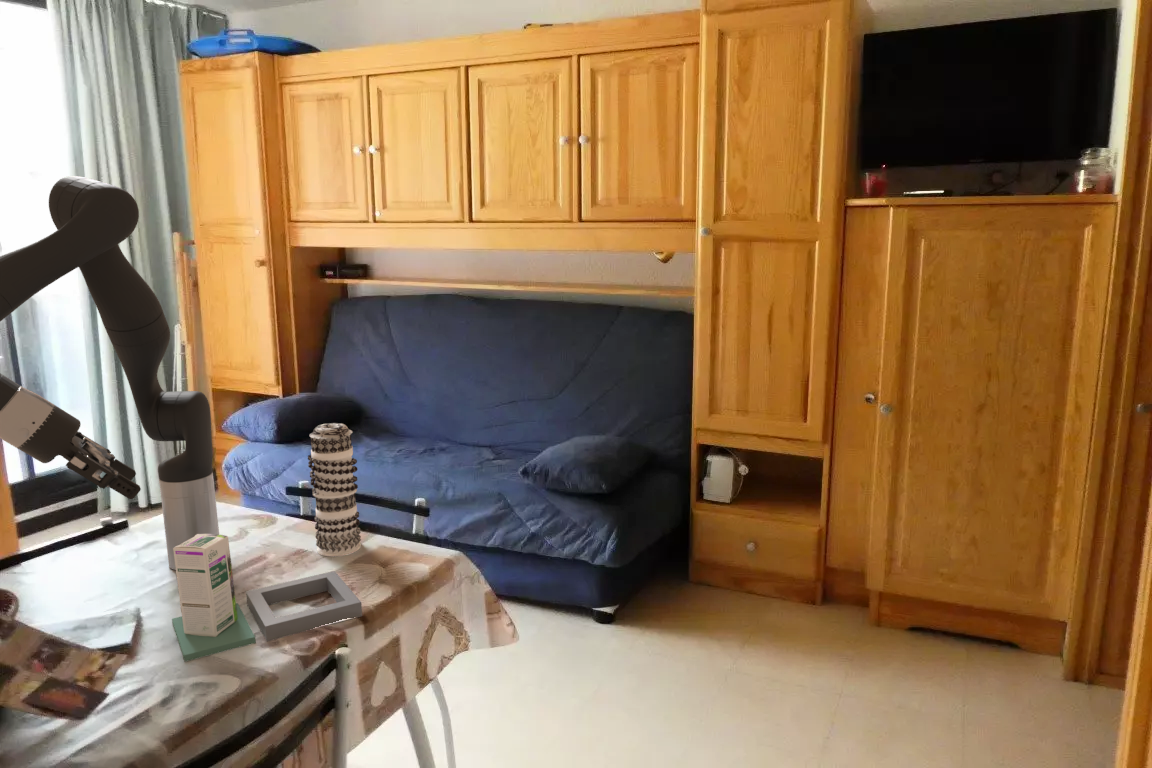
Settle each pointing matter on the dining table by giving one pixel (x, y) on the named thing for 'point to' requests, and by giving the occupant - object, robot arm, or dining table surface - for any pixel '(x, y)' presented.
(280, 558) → the dining table surface
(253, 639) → the pad
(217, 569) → the syrup box
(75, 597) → the dining table surface
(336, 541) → the decorative candle
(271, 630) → the pocket board
